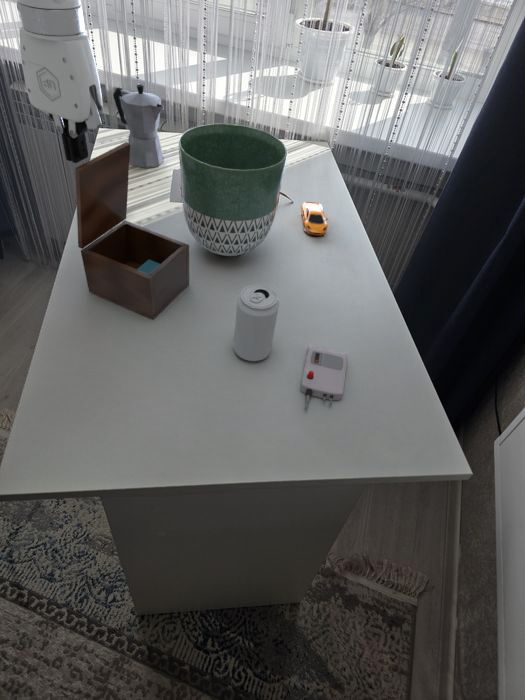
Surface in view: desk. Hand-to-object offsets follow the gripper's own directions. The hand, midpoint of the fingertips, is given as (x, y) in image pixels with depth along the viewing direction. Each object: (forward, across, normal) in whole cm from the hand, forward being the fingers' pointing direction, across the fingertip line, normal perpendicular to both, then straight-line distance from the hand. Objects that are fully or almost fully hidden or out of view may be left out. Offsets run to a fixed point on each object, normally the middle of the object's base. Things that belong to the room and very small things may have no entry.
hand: (77, 158), depth 74 cm
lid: (+5, +5, 0) cm, 7 cm away
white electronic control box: (+22, +48, -3) cm, 52 cm away
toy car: (+22, +29, +41) cm, 54 cm away
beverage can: (+22, +35, -3) cm, 41 cm away
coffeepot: (+22, -21, +43) cm, 53 cm away
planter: (+22, +17, +21) cm, 35 cm away
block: (+21, +13, 0) cm, 24 cm away
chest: (+22, +10, 0) cm, 24 cm away
